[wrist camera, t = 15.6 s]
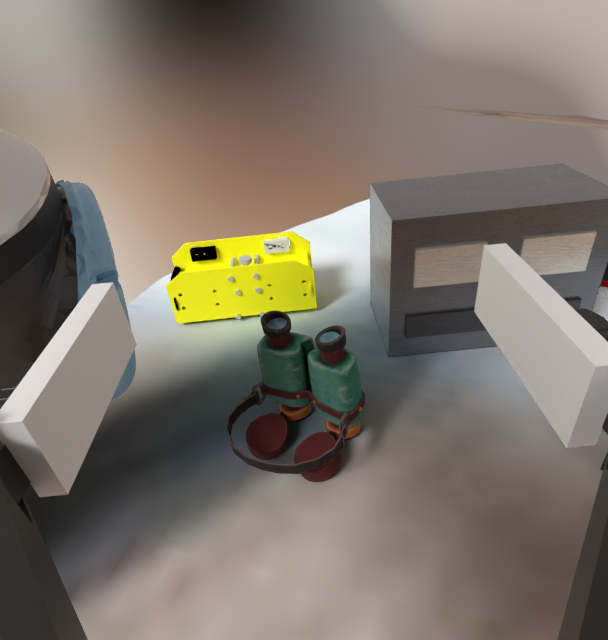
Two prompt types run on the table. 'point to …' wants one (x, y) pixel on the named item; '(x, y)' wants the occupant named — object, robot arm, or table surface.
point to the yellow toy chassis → (242, 277)
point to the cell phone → (605, 278)
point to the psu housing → (478, 248)
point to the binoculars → (302, 398)
